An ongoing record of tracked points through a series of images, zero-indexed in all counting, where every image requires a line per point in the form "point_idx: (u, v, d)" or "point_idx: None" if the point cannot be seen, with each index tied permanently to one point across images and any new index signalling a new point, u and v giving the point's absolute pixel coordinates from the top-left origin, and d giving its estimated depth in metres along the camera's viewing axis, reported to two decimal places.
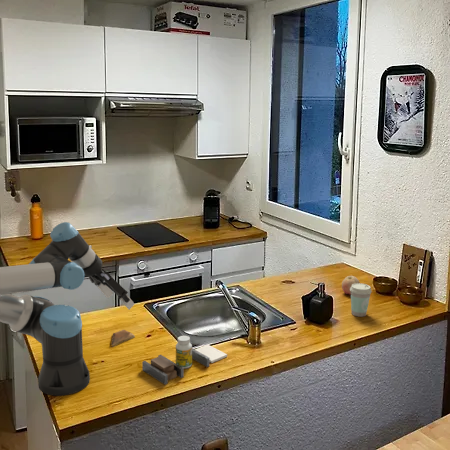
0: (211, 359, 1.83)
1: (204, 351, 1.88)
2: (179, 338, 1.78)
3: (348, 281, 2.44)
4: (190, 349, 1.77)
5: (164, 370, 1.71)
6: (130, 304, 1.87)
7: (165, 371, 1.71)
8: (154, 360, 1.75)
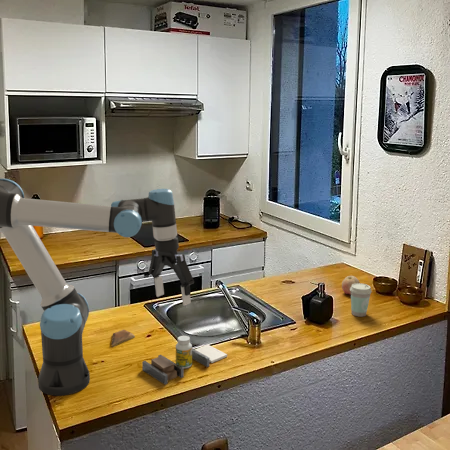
0: (211, 359, 1.83)
1: (204, 351, 1.88)
2: (179, 338, 1.78)
3: (348, 281, 2.44)
4: (190, 349, 1.77)
5: (164, 370, 1.70)
6: (187, 300, 1.75)
7: (165, 371, 1.71)
8: (154, 360, 1.75)
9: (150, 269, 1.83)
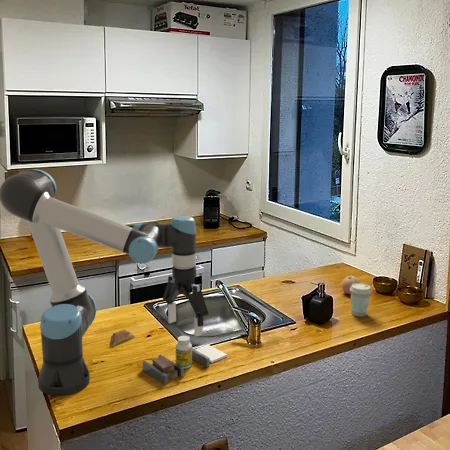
0: (211, 359, 1.83)
1: (204, 351, 1.88)
2: (179, 338, 1.78)
3: (348, 281, 2.44)
4: (190, 349, 1.77)
5: (164, 370, 1.70)
6: (199, 331, 1.72)
7: (165, 371, 1.71)
8: (156, 360, 1.75)
9: (165, 295, 1.81)
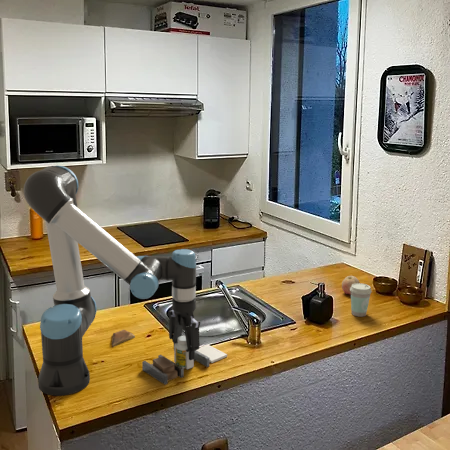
0: (211, 359, 1.83)
1: (204, 351, 1.88)
2: (179, 338, 1.78)
3: (348, 281, 2.44)
4: None
5: (164, 371, 1.70)
6: (190, 364, 1.78)
7: (165, 372, 1.71)
8: (156, 360, 1.75)
9: (170, 333, 1.81)
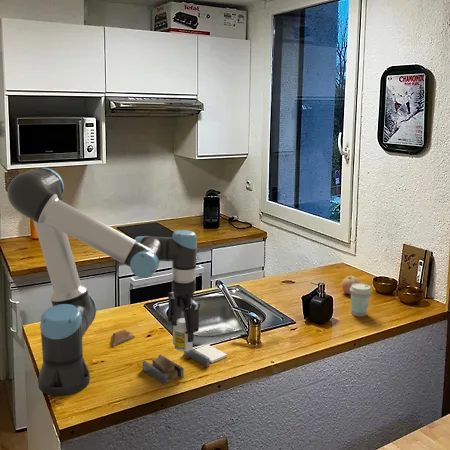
0: (211, 359, 1.83)
1: (204, 351, 1.88)
2: (178, 320, 1.76)
3: (348, 281, 2.44)
4: None
5: (164, 370, 1.70)
6: (189, 347, 1.76)
7: (165, 371, 1.71)
8: (156, 360, 1.75)
9: (169, 315, 1.80)
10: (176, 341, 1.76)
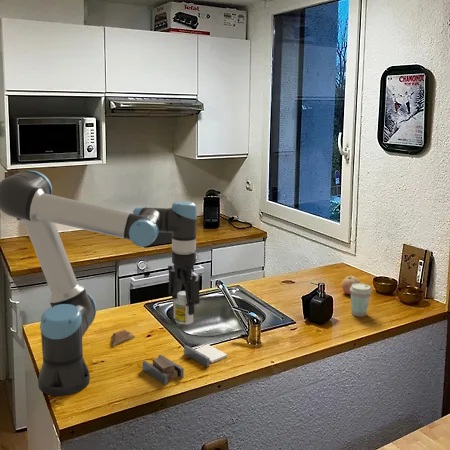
0: (211, 359, 1.83)
1: (204, 351, 1.88)
2: (179, 293, 1.74)
3: (348, 281, 2.44)
4: None
5: (164, 371, 1.70)
6: (190, 320, 1.74)
7: (165, 372, 1.70)
8: (156, 360, 1.75)
9: (169, 288, 1.78)
10: (177, 314, 1.74)
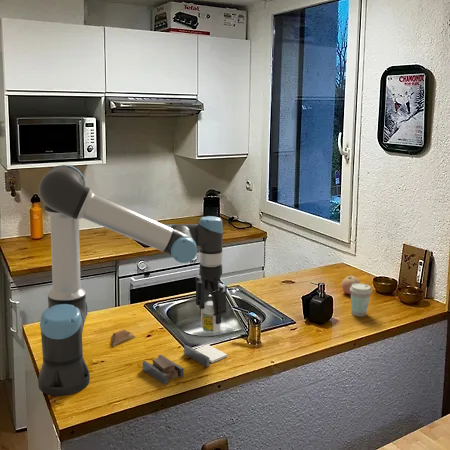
0: (211, 359, 1.83)
1: (204, 351, 1.88)
2: (206, 303, 1.83)
3: (348, 281, 2.44)
4: None
5: (164, 370, 1.70)
6: (217, 328, 1.83)
7: (165, 371, 1.71)
8: (156, 360, 1.75)
9: (196, 299, 1.87)
10: (204, 323, 1.83)
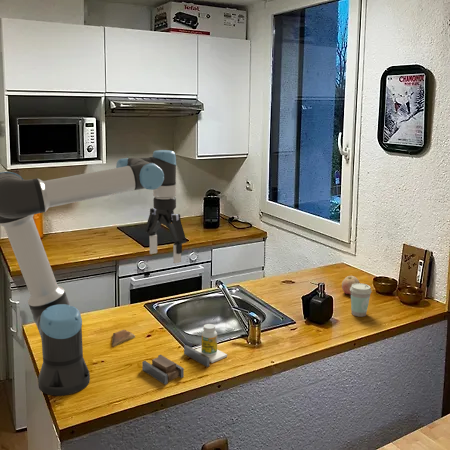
0: (211, 359, 1.83)
1: None
2: (205, 326, 1.85)
3: (348, 281, 2.44)
4: (215, 336, 1.85)
5: (166, 369, 1.71)
6: (178, 259, 1.83)
7: (167, 370, 1.71)
8: (156, 360, 1.75)
9: (146, 227, 1.92)
10: (203, 346, 1.85)
